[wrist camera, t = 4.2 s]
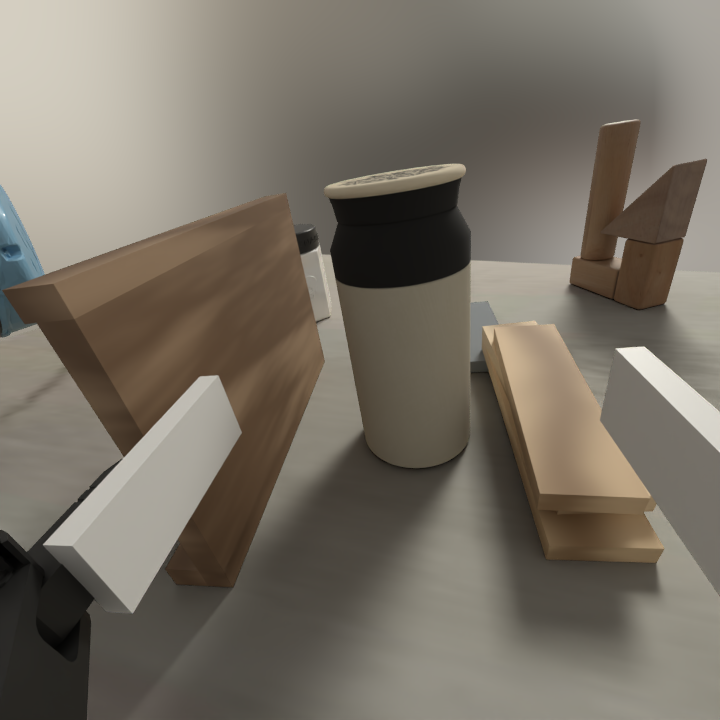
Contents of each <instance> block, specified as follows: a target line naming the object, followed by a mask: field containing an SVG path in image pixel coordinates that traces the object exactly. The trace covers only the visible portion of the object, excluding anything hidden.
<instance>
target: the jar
mask: <svg viewBox="0 0 720 720" xmlns="http://www.w3.org/2000/svg"><path fill="white" fill-rule="evenodd" d="M294 230H295V234H296V239H297V243H298V247H299V252H300V256H301V260H302V265H303V269H304V273H305V278H306V282H307V286H308V291H309V295H310V299H311V304H312V308H313V312H314V317H315V321H316V322H317V321H320V320H322V319H325V318H328V317H330V316H331V299H330V294H329V289H328V284H327V279H326V274H325V269H324V264H323V259H322V254H321V249H320V244H319V242H318V235H317V232H316V227H315V225H312V224H299V225H294Z"/></svg>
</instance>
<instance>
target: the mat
mask: <svg viewBox="0 0 720 720" xmlns="http://www.w3.org/2000/svg"><path fill="white" fill-rule="evenodd" d="M491 325H499V324H498V322H497V320H496V317H495V315H494V313H493V311H492V309H491V307H490V305H489V303H488V301H485V302H474V303H470V373H471V372H489V370H488V367H487V364H486V360H485V357H484V354H483V351H482V326H491Z"/></svg>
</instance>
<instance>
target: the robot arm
mask: <svg viewBox="0 0 720 720" xmlns="http://www.w3.org/2000/svg"><path fill="white" fill-rule="evenodd" d="M43 275H45V274H44V271H43V269H42V266H41V264H40V262H39V259H38V257H37V255H36V252H35V250H34V248H33V245H32V243H31V241H30V239H29V237H28V235H27V232H26V230H25V228H24V226H23V224H22V222H21V220H20V218H19V216H18V214H17V212H16V210H15V208H14V207H13V205H12V203H11V201H10V199H9V197H8V196H7V194H6V192H5V191H4V189H3V188H2V186H1V185H0V337H6V336H9V335H10V333H11V332H15V331H18V330H20V329H24V328H27V327H30V326H32V325H35V324H37V323H32V324H24V323H23V321H22V320H21V318H20V317H19V315H18V314H17V312H16V311H15V309H14V308H13V306H12V305H11V303H10V302H9V300H8V299H7V297H6V296H5V294H4V293H3V291H2V290H4V289H6V288H9V287H12V286H15V285H18V284H21V283H23V282H26V281H29V280H32V279H35V278H37V277H40V276H43ZM600 421H601V423H602V424H603V426H604V427H605V429H606V430H607V432H608V433H609V434H610V436H611V437H612V439H613V440H614V442H615V443H616V445H617V446H618V448H619V449H620V451H621V452H622V454H623V455H624V456H625V458H626V459H627V461H628V462H629V464H630V465H631V467H632V468H633V470H634V471H635V473H636V474H637V476H638V477H639V479H640V480H641V481H642V483H643V484H644V486H645V487H646V489H647V490H648V492H649V493H650V495H651V496H652V498H653V499H654V501H655V502H656V503H657V505H658V506H659V508H660V509H661V511H662V512H663V514H664V515H665V517H666V518H667V520H668V521H669V523H670V524H671V525H672V527H673V528H674V530H675V531H676V533H677V534H678V536H679V537H680V539H681V540H682V542H683V543H684V545H685V546H686V548H687V549H688V550H689V552H690V553H691V555H692V556H693V558H694V559H695V561H696V562H697V564H698V565H699V567H700V568H701V570H702V571H703V572H704V574H705V575H706V577H707V578H708V580H709V581H710V583H711V584H712V586H713V587H714V589H715V590H716V592H717V593H718V595H719V596H720V412H719V411H718V410H717V409H716V408H715V407H714V406H712V405H711V404H710V403H709V402H708V401H707V400H706V399H704V398H703V397H702V396H701V395H700V394H699V393H697V392H696V391H695V390H694V389H693V388H692V387H690V386H689V385H688V384H687V383H686V382H685V381H684V380H682V379H681V378H680V377H679V376H678V375H677V374H675V373H674V372H673V371H672V370H671V369H670V368H669V367H667V366H666V365H665V364H664V363H663V362H662V361H660V360H659V359H658V358H657V357H656V356H655V355H654V354H652V353H651V352H650V351H649V350H648V349H647V348H645V347H629V348H615V353H614V357H613V362H612V366H611V371H610V376H609V380H608V385H607V389H606V394H605V398H604V403H603V408H602V412H601V417H600ZM241 433H242V432H241V429H240V427H239V424H238V422H237V419H236V417H235V414H234V412H233V410H232V407H231V405H230V402H229V400H228V397H227V395H226V393H225V390H224V388H223V385H222V383H221V380H220V378H219V376H218V375H215V376H200V377H199V378H198V379H197V380H196V381H195V382H194V383H193V384H192V385H191V386H190V387H189V389H188V390H187V391H186V392H185V393H184V394H183V395H182V396H181V397H180V398H179V399H178V400H177V401H176V402H175V404H174V405H173V406H172V407H171V408H170V409H169V410H168V411H167V412H166V413H165V414H164V415H163V416H162V418H161V419H160V420H159V421H158V422H157V423H156V424H155V425H154V426H153V427H152V428H151V429H150V430H149V431H148V433H147V434H146V435H145V436H144V437H143V438H142V439H141V440H140V441H139V442H138V443H137V444H136V445H135V446H134V448H133V449H132V450H131V451H130V452H129V453H128V454H127V455H126V456H125V457H124V458H123V459H121V460H120V461H118V462H117V463H115V464H114V465H113V466H111V467H110V468H108V469H107V470H106V471H104V472H103V473H102V474H101V475H100V476H99V477H98V478H97V480H96V481H95V482H94V483H93V484H92V485H91V486H90V489H89V490H86V491H85V492H84V493H83V494H82V495H81V496H80V497H79V498H78V502H75V503H74V504H73V505H72V506H71V507H70V508H69V509H68V510H67V511H66V512H65V513H64V514H63V515H62V516H61V517H60V518H59V519H58V520H57V521H56V523H55V524H54V525H53V526H52V527H51V528H50V529H49V530H48V531H47V532H46V533H45V534H44V535H43V536H42V537H41V538H40V539H39V540H38V541H37V542H36V543H35V545H34V546H33V547H32V548H31V549H30V550H29V551H28V552H26V551H25V550H24V549H23V548H22V547H21V546H20V545H19V544H18V543H17V542H16V541H15V540H14V539H13V538H12V537H11V536H10V535H9V534H8V533H6V532H5V531H3V530H0V720H87V699H88V677H89V655H90V633H91V619H90V615H89V614H88V613H87V612H86V610H87V608H88V607H89V606H90V604H91V603H92V601H93V600H94V599H95V601H96V602H97V603H98V604H99V605H100V606H101V607H102V608H103V609H104V610H105V611H106V612H115V613H128V614H133V612H134V611H135V609H136V607H137V606H138V604H139V602H140V601H141V599H142V597H143V596H144V594H145V592H146V591H147V589H148V587H149V586H150V584H151V582H152V581H153V579H154V577H155V576H156V574H157V572H158V571H159V569H160V567H161V566H162V564H163V562H164V561H165V559H166V557H167V556H168V554H169V553H170V551H171V549H172V548H173V546H174V544H175V543H176V541H177V539H178V538H179V536H180V534H181V533H182V531H183V529H184V528H185V526H186V524H187V523H188V521H189V519H190V518H191V516H192V514H193V513H194V511H195V509H196V508H197V506H198V504H199V503H200V501H201V499H202V498H203V496H204V494H205V493H206V491H207V489H208V488H209V486H210V484H211V483H212V481H213V479H214V478H215V476H216V475H217V473H218V471H219V470H220V468H221V466H222V465H223V463H224V461H225V460H226V458H227V456H228V455H229V453H230V451H231V450H232V448H233V446H234V445H235V443H236V441H237V440H238V438H239V436H240V435H241Z"/></svg>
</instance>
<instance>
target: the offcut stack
mask: <svg viewBox="0 0 720 720" xmlns="http://www.w3.org/2000/svg"><path fill="white" fill-rule="evenodd" d="M482 351H483V354H484V357H485V360H486V364H487V367H488V370H489V374H490V377H491V380H492V383H493V387H494V390H495V393H496V397H497V400H498V403H499V406H500V410H501V413H502V416H503V419H504V423H505V426H506V429H507V433H508V436H509V439H510V442H511V446H512V449H513V452H514V456H515V459H516V462H517V465H518V469H519V472H520V475H521V479H522V482H523V485H524V488H525V492H526V495H527V498H528V501H529V505H530V508H531V511H532V515H533V518H534V521H535V524H536V528H537V531H538V534H539V538H540V541H541V544H542V547H543V551H544V554H545V557H546V560H579V561H612V562H644V563H656V562H657V561H658V559H659V557H660V556H661V554H662V552H663V550H664V547H663V545H662V544H661V542H660V540H659V538H658V537H657V535H656V533H655V532H654V530H653V528H652V526H651V525H650V523H649V521H648V520H647V518H646V516H645V514H644V512H645V511H653V510H654V508H655V506H656V504H657V503H656V502H655V501H654V499H653V498H652V496H651V495H650V493H649V492H648V490H647V489H646V487H645V486H644V484H643V483H642V481H641V480H640V479H639V477H638V476H637V474H636V473H635V471H634V470H633V468H632V467H631V465H630V464H629V462H628V461H627V459H626V458H625V456H624V455H623V454H622V452H621V451H620V449H619V448H618V446H617V445H616V443H615V442H614V440H613V439H612V437H611V436H610V434H609V433H608V432H607V430H606V429H605V427H604V426H603V424H602V423H601V421H600V417H601V412H602V410H601V408H600V406H599V404H598V403H597V401H596V399H595V397H594V395H593V394H592V392H591V390H590V388H589V386H588V385H587V383H586V381H585V379H584V377H583V376H582V374H581V372H580V370H579V368H578V367H577V365H576V363H575V361H574V359H573V357H572V356H571V354H570V352H569V350H568V348H567V347H566V345H565V343H564V341H563V339H562V338H561V336H560V334H559V332H558V330H557V329H556V327H555V325H554V324H549V325H538V324H537V323H536V321H528V322H519V323H510V324H500V325H491V326H482Z"/></svg>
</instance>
